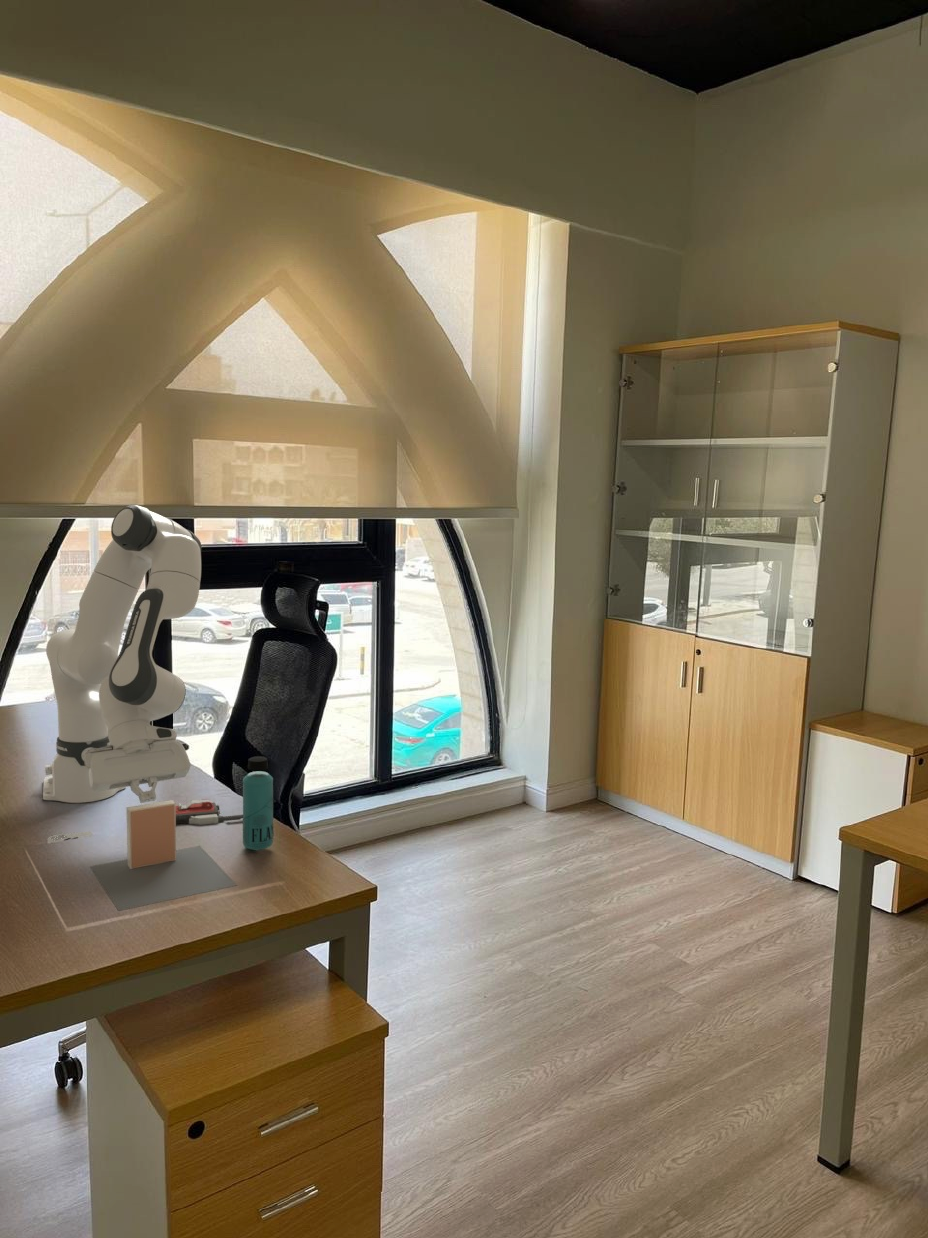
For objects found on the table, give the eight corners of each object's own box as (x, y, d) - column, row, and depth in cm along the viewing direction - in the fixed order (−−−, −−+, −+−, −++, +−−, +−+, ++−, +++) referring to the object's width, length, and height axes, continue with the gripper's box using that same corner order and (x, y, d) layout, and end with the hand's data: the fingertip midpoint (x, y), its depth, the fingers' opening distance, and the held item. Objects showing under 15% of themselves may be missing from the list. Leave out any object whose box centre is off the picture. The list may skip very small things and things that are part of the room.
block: (127, 865, 191) (126, 807, 190) (173, 856, 196) (172, 800, 194) (130, 869, 190) (129, 811, 188) (176, 860, 194) (175, 803, 193)
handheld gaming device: (92, 830, 209) (93, 857, 195) (92, 833, 209) (93, 860, 195) (47, 834, 206) (45, 862, 192) (47, 838, 206) (45, 865, 192)
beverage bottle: (248, 859, 198) (248, 764, 195) (237, 847, 203) (237, 755, 200) (278, 853, 201) (279, 760, 198) (267, 842, 207) (267, 751, 204)
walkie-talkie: (161, 832, 211) (254, 823, 218) (161, 813, 210) (254, 804, 218) (157, 818, 219) (247, 810, 227) (157, 800, 218) (247, 792, 226)
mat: (89, 868, 190) (89, 866, 190) (199, 848, 202) (199, 845, 202) (118, 913, 172) (118, 911, 172) (237, 887, 184) (237, 885, 184)
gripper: (84, 742, 197) (99, 802, 191) (182, 728, 209) (199, 785, 203) (79, 758, 201) (93, 817, 195) (176, 743, 213) (192, 799, 207)
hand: (148, 800), depth 199 cm, fingers closed
